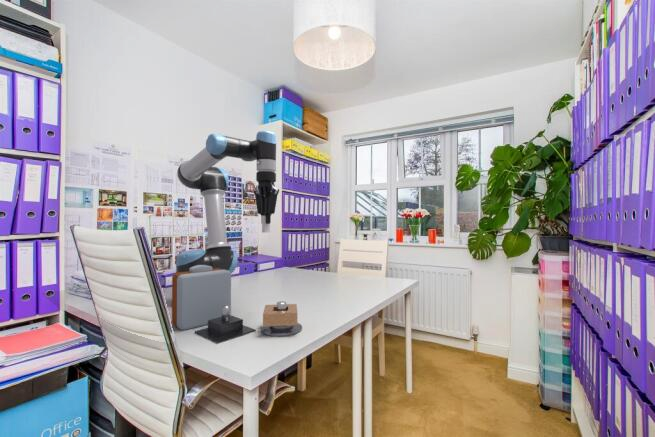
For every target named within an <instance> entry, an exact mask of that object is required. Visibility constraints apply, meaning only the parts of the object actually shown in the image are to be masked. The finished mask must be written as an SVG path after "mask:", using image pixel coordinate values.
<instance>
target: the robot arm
mask: <svg viewBox="0 0 655 437" xmlns="http://www.w3.org/2000/svg"><path fill="white" fill-rule="evenodd" d="M226 157H227V158H228V157H230V158H237V159H241V160H242V161H244V162H253V161H256V171H257V172H256V175H255V178H256V179H255V180H256V182H257V189H256V190H253V194H254V196H255V204H256V210H257V211H256V212H257V214H259V215H260V216H261V223H260V224H261V233H263V234H264V233H270V232H271V221H272V220H271V219H272V218H271V216H272V215H273V214H275V212H276V208H277V201H278V195H279V193H280V189H279V188H277V187H276V185H275V183H276V181H277V173H276V171H277V136H276V134H275V132H272V131H269V130H260V131H257V133H256V137H255V140H246V139H241V138H236V137H232V136H227V135H223V134H220V133H219V134H218V133H217V134H215V133H211V134H209V135H208V136H207V138H206V140H205V147H204V148H203V149H202V150H201V151H199V152H198V153H196V154H195V155H194V156H193V157H191V158H190V160H185V161H183V162H182V163H181V164H180V165H179V166H178V168H177V170H176V171H177V172H176V173H177V178H178V181H179V182H180V183H181V184H182V185H184V187H187V188H189V189H192V190H199V192H200V196H202V197H203V200H204V209H205V210H204V211H205V220H206V230H207V242H208V245H207V247H206V248H205V249H204V248H203V249H202V248H201V249H192V250H191V249H190V250H185V251H182V252H179V253H178V254H177V255H176V261H175V262H176V263H175V268H176V269H175V272H176V273H179V272H189V268H191V267H193V266H196V265H207V266H211V267H212V269H216V268H220V269H224V270H228V271H230V273H231V274H233V273H234V272H235V270H236V269H237V265H238V255H237V252H236V251H235V250H233V249H232V245H231V244H229V243H228V236H227V227H226V217H225V216H226V215H225V207H224V199H223V196H224V195H225V194H226V191H227V190H228V189H229V184H230V178H229V175H228V173H227V171H226V170H225V169H223V168H220V167H217V166H215V165H216V164H218V163H220V162H221V161H222V160H223V159H225V158H226Z"/></svg>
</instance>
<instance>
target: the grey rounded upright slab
mask: <svg viewBox="0 0 655 437" xmlns="http://www.w3.org/2000/svg"><path fill="white" fill-rule="evenodd" d="M224 305H229V315H231V316H232V273H230V271H228V270H224V269H220V268H216V269H212V267H211V266H207V265H196V266H193V267H191V268H189V272H179V273H173V275H172V277H171V323H172V324H173V325H174V327H176V328H178V329H179V330H181V331H186V330H187V331H188V330H191V329H195V328H200V327H204V326H208V320H211V319H215V318H219V317H222V306H224Z"/></svg>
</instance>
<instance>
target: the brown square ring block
mask: <svg viewBox="0 0 655 437" xmlns="http://www.w3.org/2000/svg"><path fill="white" fill-rule="evenodd" d="M297 323H298V306H297V303H289V304H288V303H286V311H277V304H265V306H264V309H263V313H262V326H263V327H265V326H291V325H297Z"/></svg>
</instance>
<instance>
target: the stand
mask: <svg viewBox="0 0 655 437" xmlns="http://www.w3.org/2000/svg"><path fill="white" fill-rule="evenodd" d="M256 331H257V330H256V329H255V328H253V327H250V326H247V325H245V324H244V320H243V318H240V317H237V316H234V315H232V314H231V315H229V305H224V306H222V317H219V318H215V319H211V320H208V325H207V327H205V328H202V329H198V330H194V334H196V335H199V336H201V337H202V338H205V339H207V340H209V341H211V342H213V343H215V344H220V343H224V342H227V341H230V340H233V339H236V338H240V337H242V336H245V335H249V334H251V333H255V332H256Z"/></svg>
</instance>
